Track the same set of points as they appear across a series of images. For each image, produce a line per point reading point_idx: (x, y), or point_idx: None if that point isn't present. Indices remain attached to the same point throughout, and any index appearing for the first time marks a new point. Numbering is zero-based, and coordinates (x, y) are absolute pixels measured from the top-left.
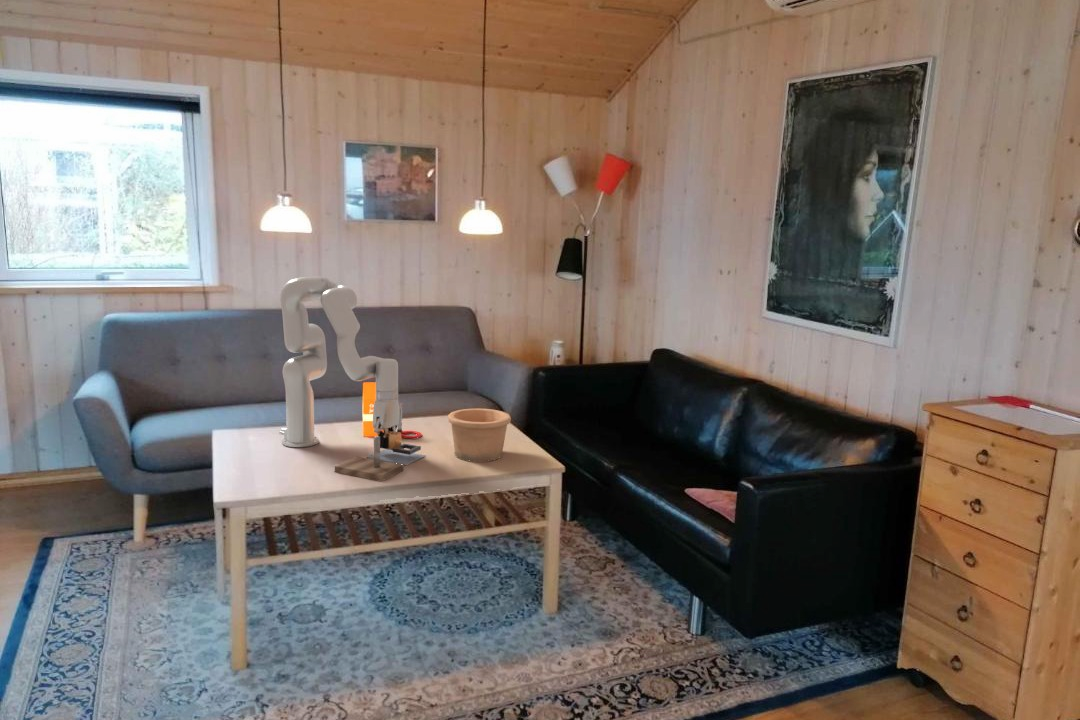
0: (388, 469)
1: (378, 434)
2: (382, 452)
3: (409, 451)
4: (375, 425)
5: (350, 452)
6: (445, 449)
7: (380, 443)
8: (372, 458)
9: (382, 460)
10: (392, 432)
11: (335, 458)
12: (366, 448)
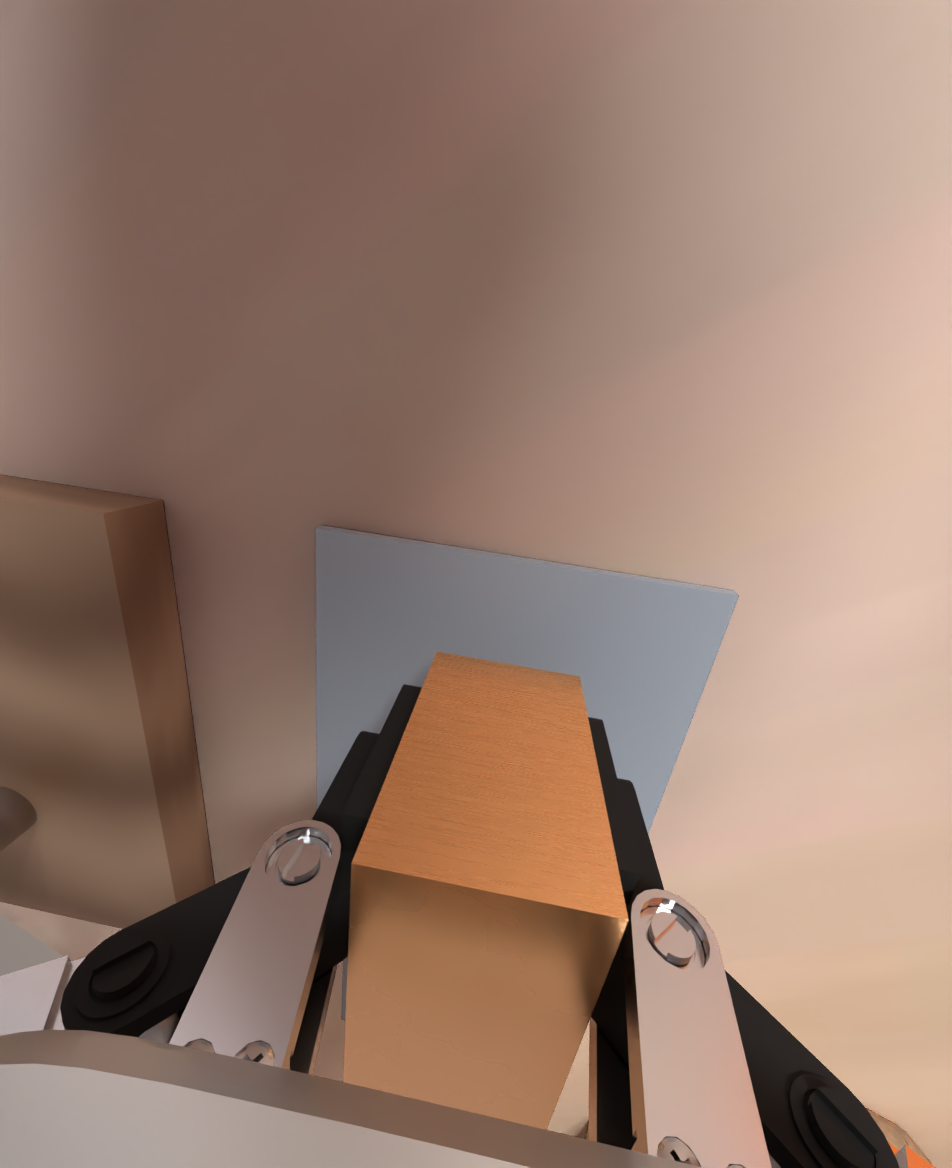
0: (35, 889)
1: (177, 921)
2: (551, 615)
3: (343, 1013)
4: (69, 1138)
5: (440, 158)
6: (850, 1021)
7: (350, 759)
8: (317, 602)
9: (317, 709)
10: (475, 1078)
11: (98, 118)
12: (721, 291)
